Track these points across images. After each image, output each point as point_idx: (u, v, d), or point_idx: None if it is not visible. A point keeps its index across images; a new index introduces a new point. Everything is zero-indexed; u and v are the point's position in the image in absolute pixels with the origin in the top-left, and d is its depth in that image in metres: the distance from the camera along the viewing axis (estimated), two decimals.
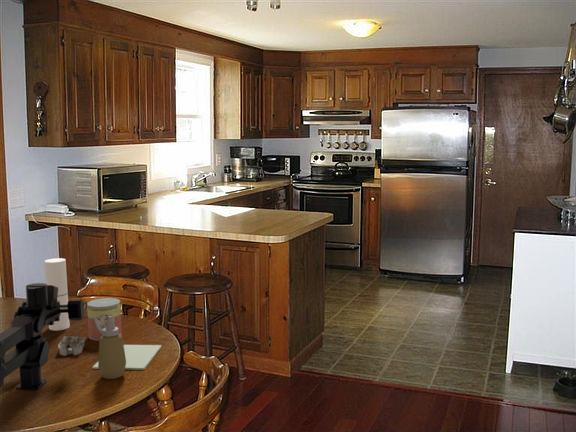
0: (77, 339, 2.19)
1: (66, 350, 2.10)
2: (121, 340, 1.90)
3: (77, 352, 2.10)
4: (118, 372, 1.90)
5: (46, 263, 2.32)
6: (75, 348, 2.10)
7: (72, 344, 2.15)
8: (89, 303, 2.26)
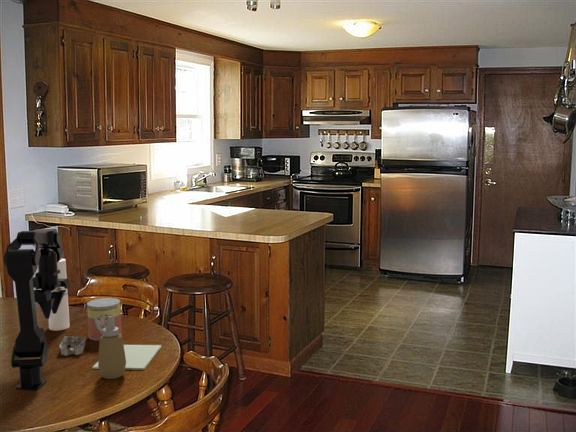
0: (78, 339, 2.19)
1: (67, 350, 2.10)
2: (121, 340, 1.90)
3: (79, 352, 2.11)
4: (118, 372, 1.90)
5: None
6: (77, 348, 2.10)
7: (73, 344, 2.15)
8: (89, 303, 2.26)
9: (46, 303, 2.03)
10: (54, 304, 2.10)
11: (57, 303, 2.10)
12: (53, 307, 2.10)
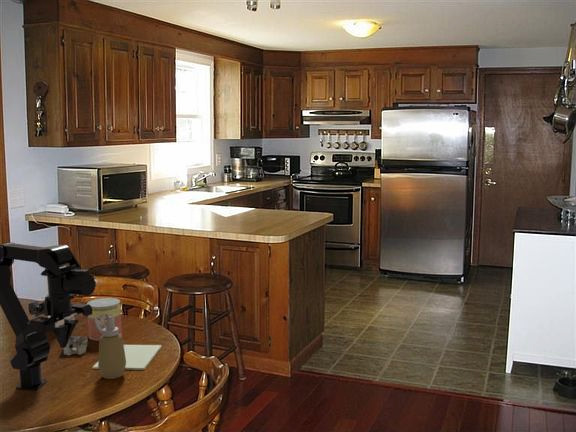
0: (79, 339, 2.19)
1: (70, 350, 2.10)
2: (121, 340, 1.90)
3: (81, 352, 2.11)
4: (118, 372, 1.90)
5: None
6: (79, 348, 2.10)
7: (75, 344, 2.15)
8: (89, 303, 2.26)
9: (60, 330, 1.76)
10: None
11: None
12: None
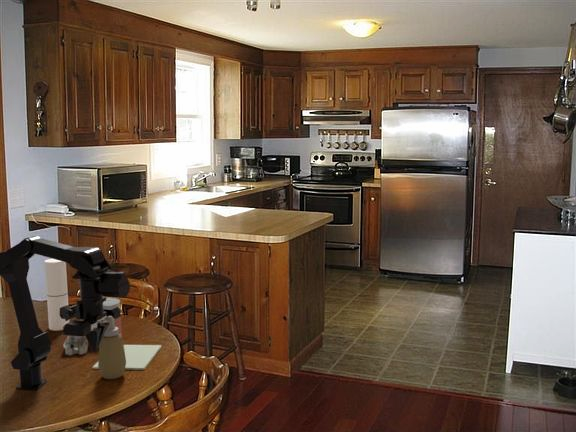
0: (80, 339, 2.19)
1: (72, 350, 2.10)
2: (121, 340, 1.90)
3: (83, 351, 2.11)
4: (118, 372, 1.90)
5: (46, 263, 2.32)
6: (81, 347, 2.10)
7: (76, 344, 2.15)
8: None
9: (92, 333, 1.75)
10: None
11: None
12: None
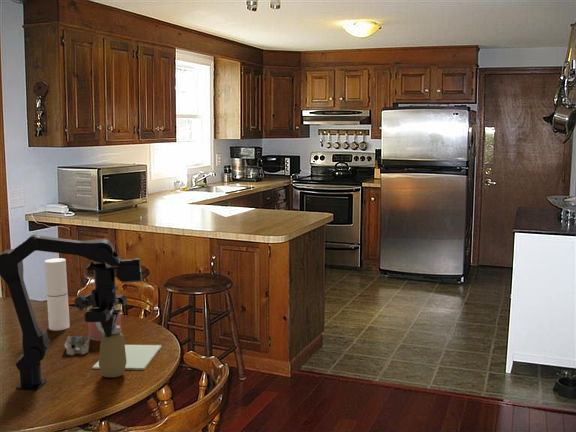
0: (81, 339, 2.19)
1: (73, 349, 2.10)
2: (122, 338, 1.91)
3: (84, 351, 2.11)
4: (118, 370, 1.90)
5: (46, 263, 2.32)
6: (82, 347, 2.10)
7: (78, 344, 2.15)
8: None
9: (107, 320, 1.86)
10: None
11: None
12: None
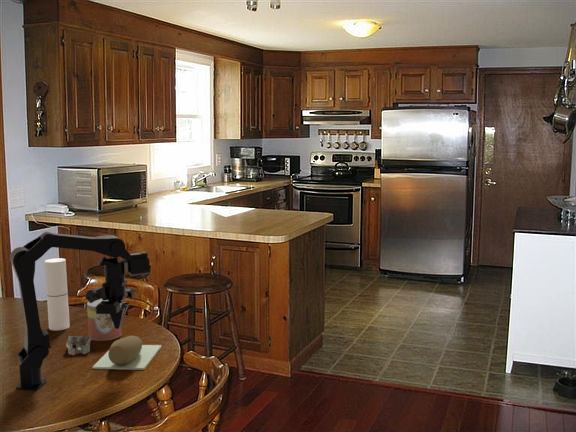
0: (82, 338, 2.20)
1: (75, 349, 2.10)
2: (141, 346, 2.06)
3: (86, 351, 2.11)
4: (128, 347, 1.97)
5: (46, 263, 2.32)
6: (84, 347, 2.11)
7: (79, 343, 2.15)
8: (89, 303, 2.26)
9: (117, 313, 1.94)
10: None
11: None
12: None
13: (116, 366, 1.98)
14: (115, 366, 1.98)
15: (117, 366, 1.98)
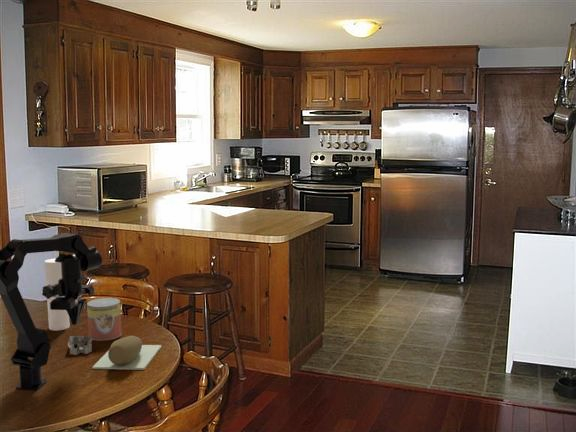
0: (83, 338, 2.20)
1: (77, 349, 2.10)
2: (140, 346, 2.06)
3: (88, 351, 2.12)
4: (128, 346, 1.97)
5: (46, 263, 2.32)
6: (86, 347, 2.11)
7: (80, 343, 2.16)
8: (89, 303, 2.26)
9: (73, 309, 1.97)
10: None
11: None
12: None
13: (116, 366, 1.98)
14: (115, 366, 1.98)
15: (117, 366, 1.98)
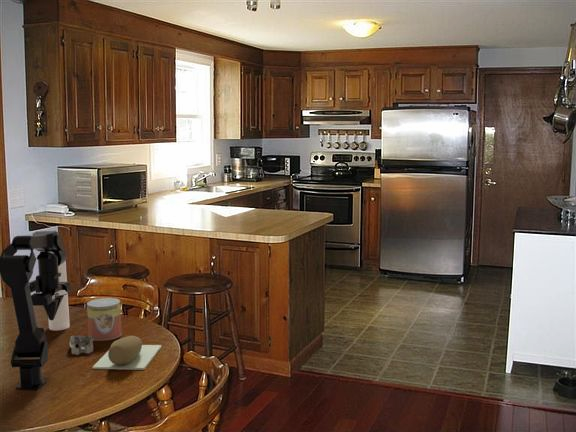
0: (84, 338, 2.20)
1: (78, 349, 2.11)
2: (140, 346, 2.06)
3: (89, 350, 2.12)
4: (128, 346, 1.97)
5: None
6: (88, 346, 2.11)
7: (82, 343, 2.16)
8: (89, 303, 2.26)
9: (50, 304, 2.02)
10: None
11: None
12: None
13: (116, 366, 1.98)
14: (115, 366, 1.98)
15: (117, 366, 1.98)
